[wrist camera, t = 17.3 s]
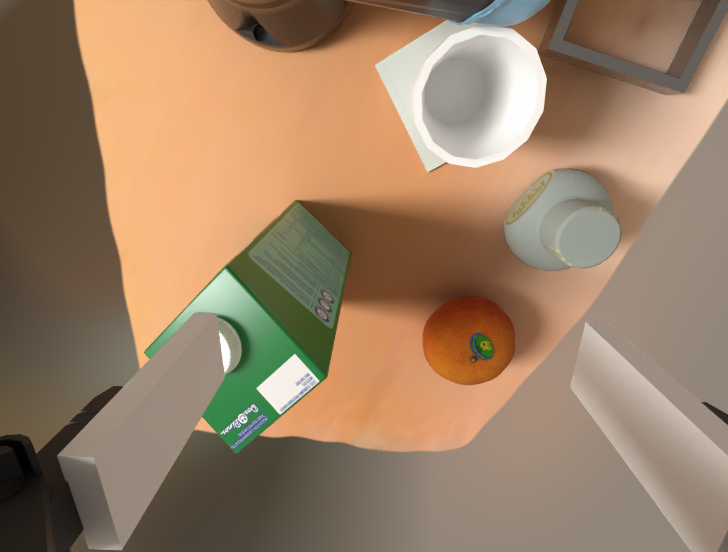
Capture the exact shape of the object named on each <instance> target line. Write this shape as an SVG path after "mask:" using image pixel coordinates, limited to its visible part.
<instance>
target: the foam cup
mask: <svg viewBox="0 0 728 552" xmlns="http://www.w3.org/2000/svg"><path fill="white" fill-rule="evenodd" d="M546 82H547V77H546V75H545V72H544V69H543V66H542V63H541V61H540V58H539V55H538V52H537V49H536V48H535V47H534V46H532V45H531V44H530V43H529V42H528V41H527V40H525V39H524V38H523V37H522V36H521V35H520V34H518V33H517V32H516V31H515V30H514V29H511V28H505V27H498V26H492V25H485V24H480V25H477V26H475V27H472V28H469V29H466V30H464V31H461V32H458V33H456V34H453V35H450V36H448V37H446V38H445V39H444V40H443V41H442V42H441V43H440V44H439V45H438V46H437V47H436V48H435V49H434V50H433V51H432V52H431V53H430V54H429V55H428V56H427V57H426V58H425V60H424V61H423V63H422V65H421V68H420V71H419V73H418V76H417V78H416V81H415V83H414V86H413V88H412V106H413V120H414V123H415V125H416V127H417V129H418V131H419V133H420V134H421V136H422V138H423V140H424V142H425V144H426V146H427V148H428V149H430V150H431V151H432V152H434V153H435V154H436V155H438V156H439V157H441V158H442V159H443V160H445V161H446V162H448V163H449V164H455V165H461V166H468V167H475V168H477V167H480V166H483V165H487V164H490V163H493V162H497V161H500V160H503V159H505V158H506V157H507V156H508V155H510V154H511V153H512V152H513V151H514V150H516V149H517V148H518V147H519V146H521V145H522V144H523V143H524V142H525V141H527V140H528V138H529V136H530V134H531V133H532V131H533V129H534V127H535V125H536V124H537V122H538V120H539V118H540V116H541V115H542V113H543V110H544V101H545V92H546Z"/></svg>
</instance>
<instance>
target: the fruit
mask: <svg viewBox="0 0 728 552" xmlns="http://www.w3.org/2000/svg"><path fill="white" fill-rule="evenodd" d="M423 349H424V355H425V358H426V360H427V362H428V363H429V365H430V366H431V367H432V368H433V370H434V371H435V372H436V373H438V374H439V375H440V376H442V377H443V378H445V379H447V380H450V381H452V382H454V383H458V384H463V385H475V384H480V383H484V382H487V381H490V380H492V379H494V378H496V377H497V376H498V375H500V374H501V373H502V371H503V370H504V369H505V368H506V367H507V366H508V364H509V363H510V361H511V359H512V357H513V355H514V351H515V332H514V328H513V325H512V322H511V320H510V318H509V317H508V316H507V315H506V313H505V312H504V311H503V310H502V309H501V308H500V307H499V306H498V305H496V304H495V303H494V302H492V301H490V300H488V299H485V298H481V297H465V298H459V299H455V300H452V301H449V302H447V303H445V304H443V305H442V306H440V307H439V308H438V309H437V310H436V311H435V312H434V313H433V314H432V315H431V316H430V317H429V318H428V320H427V322H426V324H425V327H424V331H423Z"/></svg>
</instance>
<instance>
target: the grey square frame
mask: <svg viewBox="0 0 728 552" xmlns="http://www.w3.org/2000/svg"><path fill="white" fill-rule="evenodd" d="M578 1H579V0H558V3H557V6H556V8H555V11H554V13H553V16H552V18H551V21H550V24H549V26H548V29H547V31H546V34H545V36H544V39H543V42H542V44H541V47H540V49H539V52H538V53H539V54H542V55H545V56H548V57H551V58H554V59H557V60H560V61H563V62H566V63H569V64H573V65H576V66H579V67H582V68H585V69H588V70H591V71H594V72H597V73H600V74H603V75H606V76H609V77H612V78H616V79H619V80H622V81H625V82H628V83H631V84H634V85H637V86H640V87H643V88H646V89H649V90H652V91H656V92H659V93H662V94H665V95H671V94H681V93H684V92H685V90H686V88H687V86H688V84H689V82H690V81H691V79H692V77H693V75H694V73H695V71H696V69H697V67H698V65H699V63H700V62H701V60H702V58H703V56H704V54H705V52H706V50H707V48H708V46H709V44H710V42H711V41H712V39H713V37H714V35H715V33H716V31H717V29H718V27H719V25H720V23H721V21H722V20H723V18H724V16H725V14H726V12H727V10H728V0H703V2H702V4H701V6H700V8H699V10H698V12H697V14H696V16H695V18H694V20H693V22H692V24H691V26H690V28H689V30H688V32H687V34H686V36H685V38H684V40H683V42H682V44H681V46H680V48H679V50H678V52H677V54H676V56H675V58H674V60H673V62H672V64H671V66H670V68H669V69H668V71H667V73H666V74H664V73H661V72H658V71H655V70H652V69H649V68H646V67H643V66H640V65H636V64H633V63H630V62H627V61H624V60H621V59H618V58H615V57H612V56H609V55H606V54H603V53H600V52H597V51H594V50H591V49H588V48H585V47H582V46H579V45H576V44H573V43H570V42H567V41H564V40H563V39H564V36H565V34H566V31H567V29H568V26H569V24H570V21H571V19H572V16H573V14H574V11H575V9H576V6H577V4H578Z"/></svg>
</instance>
